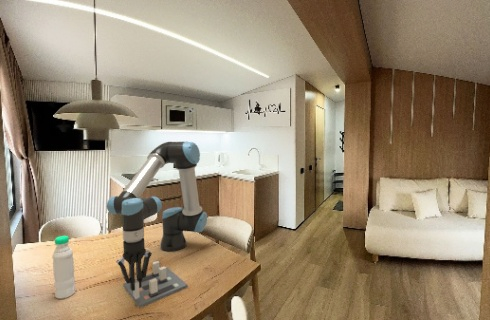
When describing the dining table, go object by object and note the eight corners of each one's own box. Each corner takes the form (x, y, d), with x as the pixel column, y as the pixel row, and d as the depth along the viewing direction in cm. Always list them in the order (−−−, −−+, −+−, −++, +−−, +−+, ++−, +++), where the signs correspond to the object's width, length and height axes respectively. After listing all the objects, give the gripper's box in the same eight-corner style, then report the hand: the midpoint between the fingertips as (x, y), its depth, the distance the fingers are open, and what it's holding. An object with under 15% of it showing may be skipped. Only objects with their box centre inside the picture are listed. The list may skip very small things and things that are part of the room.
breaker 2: (158, 280, 117) (157, 268, 116) (164, 278, 119) (164, 265, 118) (160, 282, 115) (160, 270, 114) (167, 280, 117) (166, 267, 116)
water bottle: (72, 287, 114) (68, 232, 112) (78, 293, 110) (74, 236, 107) (53, 295, 109) (48, 237, 106) (58, 301, 104) (54, 242, 102)
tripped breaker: (148, 294, 107) (148, 280, 106) (156, 291, 109) (155, 277, 108) (151, 296, 105) (150, 282, 104) (158, 293, 107) (157, 280, 106)
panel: (123, 286, 115) (123, 283, 115) (167, 269, 129) (167, 267, 129) (139, 308, 100) (139, 305, 100) (187, 287, 114) (187, 284, 114)
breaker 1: (152, 274, 122) (151, 262, 121) (158, 272, 124) (157, 260, 123) (154, 276, 120) (153, 264, 119) (160, 274, 122) (160, 262, 121)
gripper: (118, 246, 93) (121, 308, 95) (154, 237, 101) (156, 294, 104) (112, 240, 98) (115, 299, 101) (146, 232, 107) (149, 286, 109)
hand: (136, 296), depth 102 cm, fingers closed
